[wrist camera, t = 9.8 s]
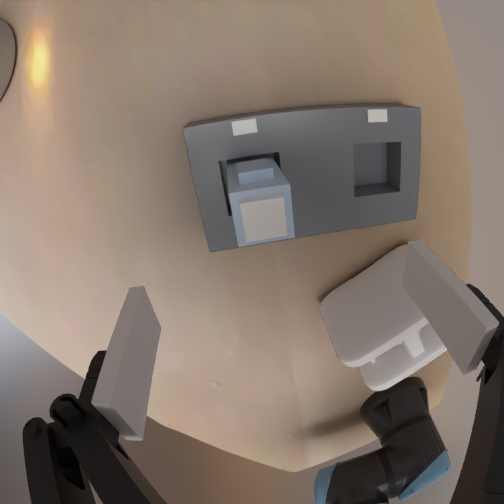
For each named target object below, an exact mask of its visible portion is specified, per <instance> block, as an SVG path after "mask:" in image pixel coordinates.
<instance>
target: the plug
mask: <svg viewBox="0 0 504 504" xmlns="http://www.w3.org/2000/svg"><path fill="white" fill-rule="evenodd" d="M226 161H227V178H228V194H229V199H230V204H231V210H232V215H233V221H234V226H235V231H236V237H237V242H238V247H242V246H248V245H254V244H260V243H266V242H272V241H278V240H284V239H290V238H295V233H294V221H293V210H292V199H291V189H290V183H289V182H288V180H287V179H286V177H285V176H284V174H283V173H282V171H281V170H280V168H279V167H278V165H277V164H276V162H275V161H274V159H273V158H272V157H271V155H270V154H269V153H268V154H261V155H254V156H248V157H241V158H235V159H229V160H226Z"/></svg>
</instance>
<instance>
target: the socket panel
mask: <svg viewBox="0 0 504 504" xmlns="http://www.w3.org/2000/svg"><path fill="white" fill-rule="evenodd" d="M183 131H184V136H185V141H186V146H187V151H188V156H189V161H190V166H191V170H192V175H193V180H194V184H195V189H196V194H197V198H198V203H199V207H200V212H201V216H202V220H203V225H204V229H205V233H206V238H207V242H208V246H209V250H210V252H216V251H222V250H228V249H234V248H240V247H238V242H237V237H236V231H235V226H234V221H233V215H232V210H231V204H230V199H229V194H228V178H227V161H226V160H229V159H235V158H241V157H248V156H254V155H261V154H268V153H269V154H270V155H271V157H272V158H273V159H274V161H275V162H276V164H277V165H278V167H279V168H280V170H281V171H282V173H283V174H284V176H285V177H286V179H287V180H288V182H289V183H290V189H291V199H292V210H293V221H294V233H295V238H300V237H307V236H313V235H319V234H325V233H331V232H338V231H344V230H350V229H356V228H362V227H369V226H375V225H381V224H388V223H394V222H400V221H407V220H413V219H416V212H417V202H418V190H419V174H420V148H421V114H420V108H418V107H414V106H409V105H404V104H342V105H323V106H309V107H297V108H286V109H277V110H268V111H260V112H253V113H246V114H239V115H233V116H226V117H220V118H215V119H209V120H204V121H199V122H194V123H189V124H187V125H186V126H185V127H184V128H183ZM290 239H294V238H290ZM284 240H288V239H284ZM278 241H282V240H278ZM272 242H276V241H272ZM266 243H270V242H266ZM260 244H264V243H260ZM254 245H258V244H254ZM248 246H252V245H248ZM242 247H246V246H242Z"/></svg>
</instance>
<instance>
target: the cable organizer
mask: <svg viewBox="0 0 504 504" xmlns="http://www.w3.org/2000/svg"><path fill="white" fill-rule="evenodd" d="M407 248H408V244H406V245H402V246H399V247H397V248H396V249H394V250H392V251H390V252H388V253H387V254H386V255H384V256H383V257H382V258H380V259H379V260H377V261H376V262H375V263H374V264H373V265H371V266H370V267H368V268H367V269H365V270H364V271H363V272H361V273H360V274H358V275H357V276H355V277H354V278H352V279H349V280H348V281H346V282H345V283H343V284H342V285H340V286H339V287H337V288H336V289H334V290H333V291H332V292H331V293H330V294H328V295H327V296H326V297H325V298H324V299H323V301H322V303H321V305H320V312H321V315H322V317H323V320H324V323H325V325H326V328H327V330H328V333H329V336H330V338H331V341H332V343H333V346H334V349H335V351H336V354H337V357H338V358H339V360H340V361H341V362H342V363H343V364H344V365H346V366H348V367H358V368H359V370H360V373H361V375H362V378H363V380H364V383H365V384H366V385H367V386H368V387H369V388H370V389H371V390H373V391H382V390H385V389H388V388H390V387H391V386H393V385H395V384H396V383H398V382H400V381H401V380H403V379H405V378H406V377H408V376H409V375H411V374H413V373H414V372H416V371H417V370H419V369H420V368H422V367H423V366H425V365H426V364H428V363H429V362H431V361H432V360H434V359H435V358H437V357H438V356H440V355H441V354H442V353H444V352H445V351H447V348H446V347H445V345H444V344H443V342H442V341H441V339H440V338H439V336H438V335H437V333H436V332H435V331H434V329H433V328H432V326H431V325H430V323H429V322H428V321H427V319H426V318H425V316H424V315H423V314H422V312H421V311H420V309H419V308H418V307H417V305H416V304H415V303H414V301H413V300H412V298H411V297H410V296H409V294H408V293H407V292H406V290H405V289H404V288H403V286H402V282H403V276H404V270H405V263H406V256H407Z"/></svg>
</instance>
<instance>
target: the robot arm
mask: <svg viewBox="0 0 504 504" xmlns="http://www.w3.org/2000/svg"><path fill="white" fill-rule="evenodd" d="M402 286H403V288H404V289H405V290H406V292H407V293H408V294H409V296H410V297H411V298H412V300H413V301H414V303H415V304H416V305H417V307H418V308H419V309H420V311H421V312H422V314H423V315H424V316H425V318H426V319H427V321H428V322H429V323H430V325H431V326H432V328H433V329H434V331H435V332H436V333H437V335H438V336H439V338H440V339H441V341H442V342H443V344H444V345H445V347H446V348H447V350H448V351H449V353H450V354H451V356H452V357H453V359H454V361H455V362H456V363H457V365H458V367H459V368H460V370H461V371H462V373H463V375H465V374H467V373H469V372H471V371H473V370H475V369H477V366H478V365H479V363H480V361H481V360H482V361H483V363H484V364H485V365H484V367H483V369H482V370H481V372H480V374H479V376H478V377H477V380H476V381H477V382H478V381H479V379H480V378H481V384H480V391H479V398H478V403H477V409H476V414H475V419H474V424H473V428H472V433H471V437H470V441H469V445H468V449H467V453H466V456H465V460H464V463H463V467H462V470H461V473H460V477H459V479H458V482H457V485H456V488H455V491H454V493H453V496H452V499H451V502H450V504H504V317H503V316H502V315H501V313H500V312H499V311H498V310H497V309H496V308H495V307H494V305H493V304H492V303H490V301H489V300H488V299H487V298H486V297H485V296H484V295H483V293H482V292H481V291H480V290H479V289H478V288H476V287H474V286H473V285H471V284H465V283H464V282H463V281H462V280H461V279H460V278H459V277H458V276H457V275H456V274H455V273H454V272H453V271H452V270H451V269H450V268H449V267H448V266H447V265H446V264H445V263H444V262H443V261H442V260H441V259H440V258H439V257H438V256H437V255H436V254H435V253H434V252H433V251H432V250H431V249H430V248H429V247H428V246H427V245H426V244H425V243H423V242H422V241H421V240H415V241H409V242H408V248H407V256H406V263H405V270H404V276H403V282H402ZM160 332H161V326H160V324H159V322H158V319H157V317H156V315H155V312H154V310H153V307H152V305H151V302H150V300H149V298H148V295H147V293H146V290H145V288H144V286H140V287H133V288H129V291H128V294H127V296H126V299H125V301H124V304H123V307H122V309H121V312H120V315H119V318H118V320H117V323H116V326H115V329H114V332H113V334H112V337H111V340H110V343H109V346H108V349H107V350H106V351H98V352H97V354H96V355H95V356H94V357H93V359H92V360H91V363H90V366H89V369H88V370H89V371H88V372H87V375H86V379H85V381H84V384H83V387H82V390H81V393H80V396H79V399H77V398H76V397H75V396H74V395H72V394H63V395H61V396H58V397H57V398H56V399H55V400H54V401H53V403H52V404H51V407H50V417H51V418H52V419H53V420H54V421H55V422H53V423H49V424H47V423H46V422H45V421H44V420H43V419H42V418H39V417H36V418H32V419H31V420H29V421H28V422H27V423H26V424H25V426H24V428H23V447H24V456H25V465H26V473H27V480H28V486H29V492H30V498H31V503H32V504H96V502H95V499H94V496H93V493H92V490H91V487H90V484H89V481H90V483H91V484H92V486H93V488H94V489H95V491H96V492H97V494H98V496H99V498H100V499H101V501H102V502H103V504H167V503H166V502H165V501H164V500H163V498H162V497H161V496H160V495H159V494H158V493H157V491H156V490H155V489H154V488H153V486H152V485H151V484H150V483H149V481H148V480H147V479H146V478H145V476H144V475H143V474H142V473H141V471H140V470H139V469H138V467H137V466H136V465H135V463H134V462H133V461H132V459H131V458H130V456H129V455H128V454H127V452H126V451H125V449H124V448H123V446H122V445H121V444H120V443H119V442H118V437H119V434H120V435H122V437H124V439H125V440H143V435H144V428H145V421H146V414H147V407H148V400H149V394H150V387H151V381H152V375H153V369H154V364H155V358H156V353H157V347H158V342H159V337H160ZM361 414H362V417H363V420H364V422H365V423H366V424H367V425H368V426H369V428H370V429H371V430H372V431H373V432H374V433H375V434H376V436H377V437H378V438H379V440H380V442H381V445H382V448H381V449H378V450H375V451H372V452H370V453H367V454H364V455H361V456H358V457H355V458H352V459H349V460H346V461H343V462H337V463H335V464H334V465H331V466H328V467H326V468H322V469H321V470H319V472H318V473H317V475H316V477H315V485H314V493H315V503H316V504H389V501H388V500H389V499H391V498H394V497H397V496H398V499H400V500H401V501H404V500H406V499H408V498H410V497H412V496H414V495H416V494H418V493H419V492H421V491H423V490H424V489H426V488H428V487H429V486H431V485H432V484H434V483H435V482H437V481H438V480H440V479H441V478H442V477H443V476H445V475H446V474H447V473H448V472H449V470H450V468H451V462H450V459H449V456H448V453H447V449H446V448H445V446H444V444H443V441H442V439H441V437H440V435H439V433H438V431H437V429H436V426H435V424H434V422H433V420H432V418H431V416H430V413H429V406H428V397H427V390H426V387H425V385H424V383H423V381H422V380H421V379H419V378H407V379H403V380H401V381H400V382H398V383H396V384H395V385H393V386H391V387H390V388H388V389H385V390H382V391H378V392H377V393H375V394H374V395H373V396H371V397H370V398H369V399H368V400H367V401H366V402H365V403H364V405H363V406H362V408H361ZM88 479H89V480H88Z"/></svg>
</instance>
